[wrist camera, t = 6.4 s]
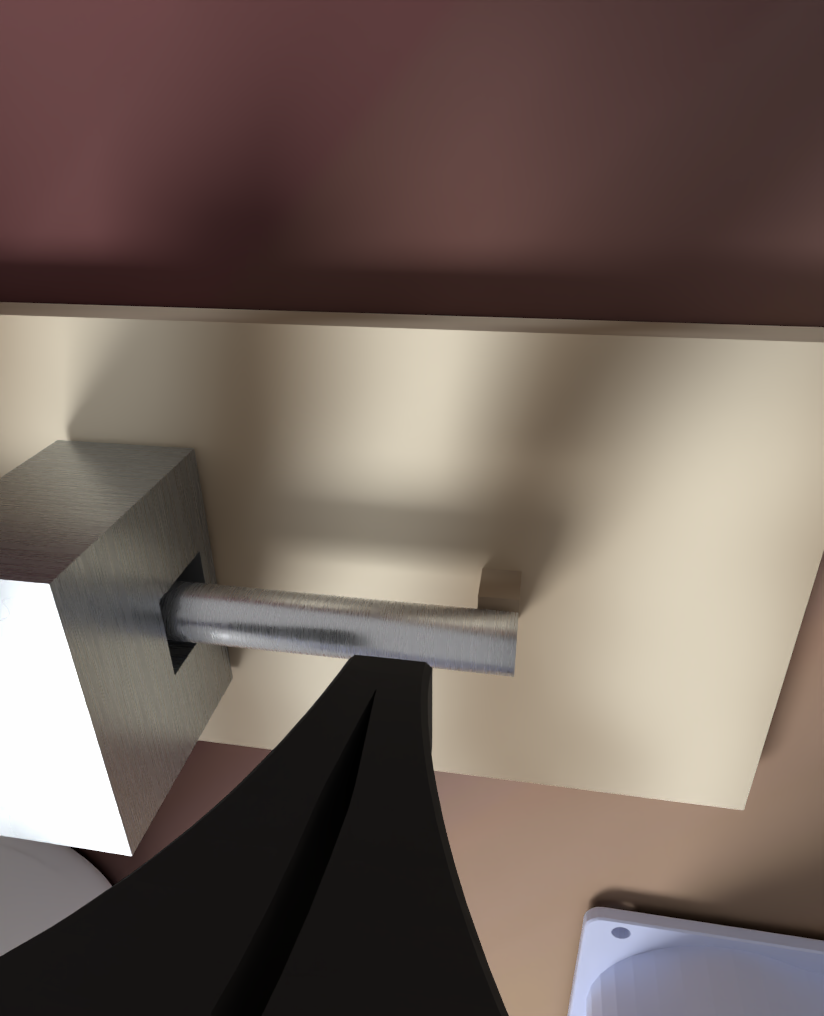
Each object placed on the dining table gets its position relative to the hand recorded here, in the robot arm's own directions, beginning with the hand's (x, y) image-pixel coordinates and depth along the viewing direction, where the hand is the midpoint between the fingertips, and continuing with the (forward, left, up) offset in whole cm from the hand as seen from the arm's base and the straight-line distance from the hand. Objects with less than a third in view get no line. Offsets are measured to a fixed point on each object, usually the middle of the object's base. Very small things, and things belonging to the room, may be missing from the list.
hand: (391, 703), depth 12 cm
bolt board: (+4, 0, -4) cm, 6 cm away
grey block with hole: (+6, 0, -3) cm, 7 cm away
